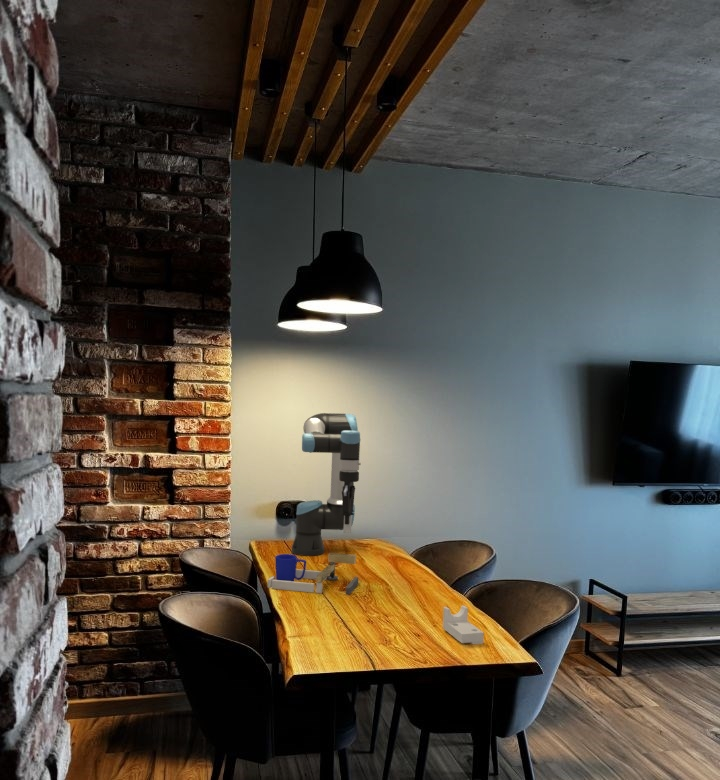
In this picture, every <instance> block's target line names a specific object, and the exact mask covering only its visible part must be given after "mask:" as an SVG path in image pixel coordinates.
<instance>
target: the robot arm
mask: <svg viewBox="0 0 720 780" xmlns="http://www.w3.org/2000/svg"><path fill="white" fill-rule="evenodd" d="M302 429H303V434H302V435H301V451H302V452H303V453H322V454H323V453H326V454H327V453H328V454H329V453H330V454H331V469H330V470H331V471H330V476H331V477H330V494H329V495H330V496H329V497H328V499H326V503H323V501H322V500H319V499H318V500H315V499H314V500H313V499H312V500H306V501H302V502H299V503H298V504H297V506H296V513H295V515H296V521H295V524H296V525H295V536H294V540H293V542H292V545H291V553H292V554H293V555H296V556H297V555H298V556H318V555H323V554H324V553H325V546H324V545H325V544H324V542H323V537H322V531H323V530H325V531H327V530H328V531H330V530H331V531H335V530H336V531H339V530H340V531H343V533H347V534H351V533H352V527H353V524H354V519H355V509H356V507H355V504H354V503H355V492H356V486H355V485H354V483H355V482H359V480H360V471H359V470H360V466H361V462H360V452H361V451H360V450H361V433H360V431H359V430H358V421H357V417H356V415H354V414H351V413H331V412H330V413H326V412H323V413H321V412H320V413H316V414H314V415H312V416H310V417H309V418H307V419H306V420H305V421H304V423H303V428H302Z"/></svg>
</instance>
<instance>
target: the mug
mask: <svg viewBox="0 0 720 780" xmlns="http://www.w3.org/2000/svg"><path fill="white" fill-rule="evenodd" d="M274 560H275V580H282V581H293V582H295V580H298V581H300V580H302V579H304V578H303V576H304V573H305V570H306V566H307V565H306V564H307V560H305V559H301V558H300V559H299V558H298V557H297V555H296V554H289V553H284V554H283V553H281V554H277V555H275V559H274ZM299 562H300V563H301V562H302V563H303V568H302V570H303V573H302V576H301V577H300V578H297V577H296V569H297V565H298V563H299Z"/></svg>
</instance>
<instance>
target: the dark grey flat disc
mask: <svg viewBox="0 0 720 780" xmlns="http://www.w3.org/2000/svg"><path fill="white" fill-rule="evenodd" d="M338 578H339V576H337V575H335V576H334V577H330V574H329V575H328V576H327V577H326V581H329V582H330V581H332V582H335V581H338Z"/></svg>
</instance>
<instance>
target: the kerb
mask: <svg viewBox="0 0 720 780" xmlns="http://www.w3.org/2000/svg"><path fill="white" fill-rule="evenodd" d="M359 580H360V579H359V576H353V578H352V580H351V581H350V582H349V583H348V585H346V587H345V595H349V596H350V595H351V594H352V593H353V591H354V590H355V589H356V588H357V586H358V585H359Z"/></svg>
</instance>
